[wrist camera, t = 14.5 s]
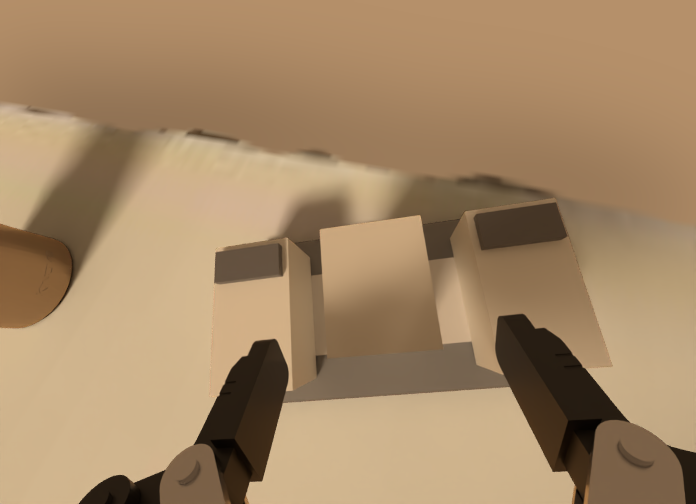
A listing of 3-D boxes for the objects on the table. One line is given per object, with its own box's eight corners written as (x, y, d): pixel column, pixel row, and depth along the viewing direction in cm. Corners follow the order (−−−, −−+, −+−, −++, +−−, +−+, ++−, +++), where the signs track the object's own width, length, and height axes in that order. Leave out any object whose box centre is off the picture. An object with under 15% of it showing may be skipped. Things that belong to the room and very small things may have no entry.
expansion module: (359, 347, 21) (327, 358, 11) (352, 271, 22) (319, 224, 13) (421, 342, 20) (443, 349, 11) (409, 264, 22) (419, 209, 12)
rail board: (261, 400, 22) (200, 430, 15) (261, 253, 26) (211, 224, 19) (550, 379, 20) (634, 404, 13) (506, 218, 23) (552, 169, 16)
